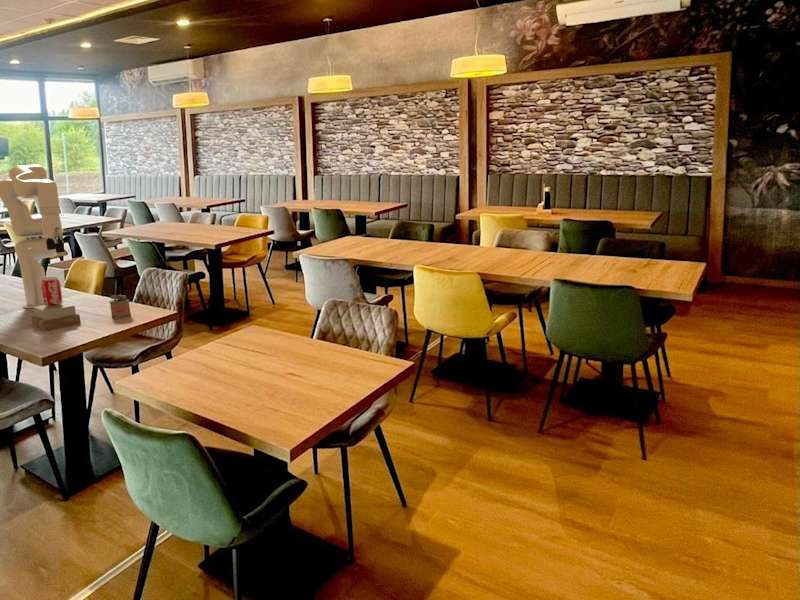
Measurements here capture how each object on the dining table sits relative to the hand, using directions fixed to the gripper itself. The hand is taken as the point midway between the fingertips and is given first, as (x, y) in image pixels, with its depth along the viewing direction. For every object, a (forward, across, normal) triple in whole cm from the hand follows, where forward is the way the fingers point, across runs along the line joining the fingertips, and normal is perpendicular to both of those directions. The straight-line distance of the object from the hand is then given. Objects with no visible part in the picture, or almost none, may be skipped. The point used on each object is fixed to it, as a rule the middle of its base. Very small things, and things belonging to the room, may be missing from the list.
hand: (55, 250), depth 271 cm
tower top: (+26, +6, -6) cm, 28 cm away
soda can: (+23, +5, -6) cm, 24 cm away
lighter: (+30, +16, +17) cm, 39 cm away
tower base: (+30, +6, -6) cm, 31 cm away
